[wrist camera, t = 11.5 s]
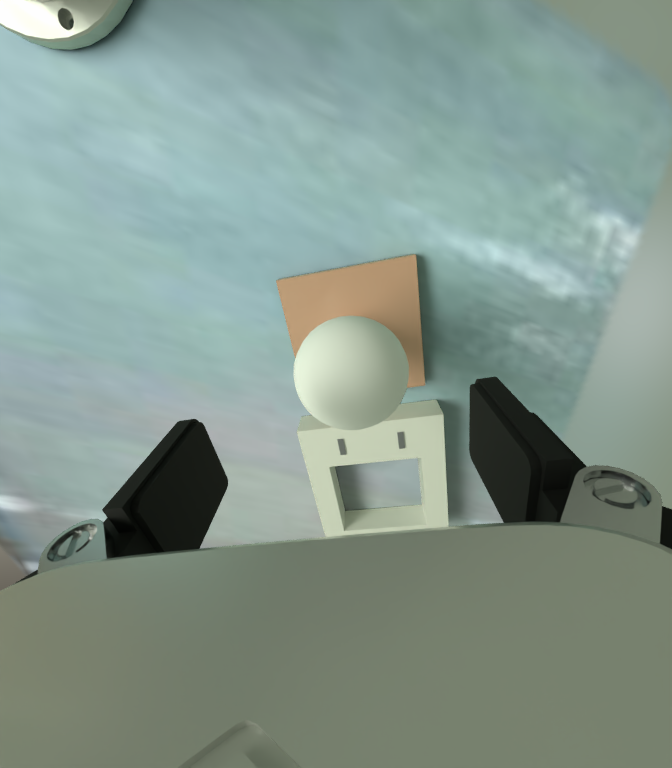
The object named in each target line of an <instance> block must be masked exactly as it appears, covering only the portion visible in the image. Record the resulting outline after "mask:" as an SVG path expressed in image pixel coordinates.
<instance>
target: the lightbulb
mask: <svg viewBox="0 0 672 768" xmlns="http://www.w3.org/2000/svg"><path fill="white" fill-rule="evenodd" d="M408 379H409V365H408V360H407V356H406V353H405V351H404V349H403V347H402V345H401V343H400V341H399V340H398V338H397V337H396V336H395V335H394V333H393V332H391V331H390V330H389V329H388V328H387V327H386V326H384V325H382V324H381V323H379V322H377V321H375V320H372V319H369V318H366V317H361V316H341V317H337V318H334V319H331V320H328V321H326V322H324V323H322V324H320V325H318V326H317V327H316V328H315V329H314V330H312V331H311V332H310V333H309V334H308V336H307V337H306V338H305V339H304V341H303V342H302V344H301V346H300V348H299V350H298V352H297V355H296V359H295V363H294V381H295V387H296V390H297V393H298V395H299V398H300V400H301V402H302V403H303V405H304V406H305V408H306V409H307V410H308V412H309V413H310V414H311V415H312V416H313V417H315V418H316V419H318V420H319V421H320V422H322V423H324V424H326V425H328V426H330V427H334V428H338V429H342V430H361V429H365V428H369V427H372V426H374V425H376V424H379V423H380V422H382V421H383V420H385V419H387V418H388V417H389V416H390V415H391V414H392V413H393V412H394V411H395V410H396V408H397V407H398V406H399V404H400V403H401V401H402V399H403V397H404V394H405V392H406V389H407V384H408Z"/></svg>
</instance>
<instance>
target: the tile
mask: <svg viewBox="0 0 672 768" xmlns="http://www.w3.org/2000/svg"><path fill="white" fill-rule="evenodd" d="M276 282H277V286H278V290H279V294H280V298H281V302H282V306H283V311H284V315H285V319H286V323H287V327H288V331H289V335H290V339H291V343H292V347H293V351H294V355H295V359H296V355H297V352H298V350H299V348H300V346H301V344H302V342H303V341H304V339H305V338H306V337H307V336H308V334H309V333H310V332H311V331H312V330H314V329H315V328H316V327H317V326H318V325H320V324H322V323H324V322H326V321H328V320H331V319H334V318H337V317H341V316H361V317H366V318H369V319H372V320H375V321H377V322H379V323H381V324H382V325H384V326H386V327H387V328H388V329H389V330H390V331H391V332H393V333H394V335H395V336H396V337H397V338H398V340H399V341H400V343H401V345H402V347H403V349H404V351H405V353H406V356H407V360H408V365H409V379H408V384H407V388H409V387H416V386H424V385H425V375H424V361H423V347H422V332H421V318H420V304H419V290H418V276H417V262H416V255H415V254H410V255H405V256H400V257H394V258H389V259H384V260H378V261H373V262H367V263H362V264H357V265H351V266H346V267H341V268H335V269H330V270H325V271H319V272H314V273H308V274H303V275H298V276H292V277H287V278H282V279H278V280H276Z"/></svg>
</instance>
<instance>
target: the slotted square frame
mask: <svg viewBox="0 0 672 768" xmlns="http://www.w3.org/2000/svg"><path fill="white" fill-rule="evenodd" d="M297 434H298V438H299V441H300V445H301V449H302V452H303V456H304V460H305V463H306V467H307V471H308V474H309V478H310V482H311V485H312V489H313V493H314V496H315V500H316V504H317V507H318V511H319V515H320V518H321V522H322V526H323V529H324V533H325V537H332V536H343V535H354V534H366V533H378V532H390V531H402V530H413V529H425V528H437V527H449V525H448V503H447V482H446V461H445V439H444V418H443V413H442V410H441V408H440V406H439V404H438V402H437V400H428V401H420V402H413V403H405V404H399V406H398V407H397V408H396V410H395V411H394V412H393V413H392V414H391V415H390V416H389V417H388V418H387V419H385V420H383V421H382V422H380V423H379V424H376V425H374V426H372V427H369V428H365V429H361V430H342V429H338V428H334V427H330V426H328V425H326V424H324V423H322V422H320V421H319V420H318V419H316V418H315V417H313V416H312V415H309V416H302V417H301V420H300V423H299V427H298V430H297ZM411 458H418V465H419V476H420V487H421V498H422V505H411V506H399V507H387V508H375V509H364V510H352V511H345V508H344V504H343V500H342V495H341V491H340V486H339V482H338V478H337V473H336V469H335V466H343V465H353V464H362V463H372V462H382V461H391V460H401V459H411Z"/></svg>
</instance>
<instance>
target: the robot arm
mask: <svg viewBox="0 0 672 768" xmlns="http://www.w3.org/2000/svg"><path fill="white" fill-rule="evenodd" d="M132 1H133V0H0V25H1V26H3V27H4V28H6V29H7V30H9V31H11V32H13V33H15V34H16V35H18V36H20V37H22V38H24V39H26V40H28V41H30V42H31V43H35V44H38V45H41V46H45V47H48V48H51V49H68V50H72V49H77V48H81V47H85V46H90V45H92V44H93V43H95V42H97V41H99V40H100V39H102V38H104V37H105V36H107V35H108V34H109V33H110V32H111V31H112V30H113V29H114V28H115V27H116V26H117V25H118V24H119V23H120V22H121V20H122V18H123V17H124V15H125V13H126V12H127V10H128V8H129V7H130V5H131V3H132ZM469 450H470V456H471V459H472V461H473V463H474V465H475V467H476V469H477V471H478V473H479V475H480V477H481V479H482V481H483V483H484V485H485V487H486V489H487V491H488V493H489V494H490V496H491V498H492V500H493V502H494V504H495V506H496V508H497V510H498V512H499V514H500V516H501V518H502V520H503V522H504V523H492V524H475V525H464V526H451V527H437V528H425V529H413V530H402V531H390V532H378V533H366V534H354V535H343V536H332V537H321V538H309V539H298V540H287V541H276V542H265V543H255V544H244V545H233V546H223V547H213V548H202V549H199V548H200V546H201V544H202V542H203V539H204V537H205V535H206V533H207V531H208V529H209V526H210V524H211V522H212V520H213V518H214V516H215V513H216V511H217V509H218V507H219V505H220V502H221V500H222V498H223V496H224V494H225V492H226V489H227V486H228V479H227V476H226V474H225V472H224V469H223V467H222V465H221V463H220V460H219V458H218V456H217V454H216V451H215V449H214V447H213V445H212V442H211V440H210V438H209V435H208V433H207V431H206V429H205V426H204V425H203V423H201V422H199V421H198V420H196V419H191V420H184V421H179V422H177V423H176V424H175V426H174V427H173V428H172V429H171V430H170V431H169V433H168V434H167V435H166V436H165V437H164V438H163V440H162V441H161V442H160V443H159V444H158V445H157V447H156V448H155V449H154V450H153V451H152V452H151V454H150V455H149V456H148V457H147V458H146V459H145V461H144V462H143V463H142V464H141V465H140V466H139V468H138V469H137V470H136V471H135V472H134V473H133V475H132V476H131V477H130V478H129V479H128V480H127V482H126V483H125V484H124V485H123V486H122V487H121V489H120V490H119V491H118V492H117V493H116V494H115V495H114V497H113V498H112V499H111V500H110V501H109V502H108V504H107V505H106V506H105V507H104V508H103V509H102V510H103V512H104V513H105V514H106V516H107V517H108V518H107V519H106V520H105V521H104V523H103V522H102V521H101V520H99V519H89V520H86V521H82V522H80V523H78V524H75V525H73V526H72V527H70V528H68V529H67V530H65V531H63V532H62V533H61V534H60V535H58V536H57V537H56V538H55V539H54V540H53V541H52V542H50V543H49V544H48V545H47V547H46V548H45V550H44V551H43V552H42V554H41V557H40V560H39V567H38V570H36V571H35V572H33V573H31V574H30V575H28V576H26V577H25V578H23V579H21V580H20V581H18V582H16V583H15V584H13V585H11V586H10V587H8V588H6V589H4V590H2V591H0V768H672V509H669V508H666V507H663V506H662V499H661V495H660V493H659V492H658V491H657V490H656V488H655V487H654V486H653V485H651V484H650V483H649V482H647V481H646V480H645V479H643V478H641V477H639V476H638V475H635V474H634V473H632V472H629V471H626V470H623V469H620V468H615V467H610V466H597V465H595V466H589V467H586V465H585V464H583V462H582V461H581V460H580V459H579V458H578V457H577V456H576V455H575V454H574V453H573V452H572V451H571V450H570V449H569V448H568V447H567V446H566V445H565V444H564V443H563V442H562V441H561V440H560V439H559V438H558V436H557V435H556V434H555V433H554V432H553V431H552V430H551V429H550V428H549V427H548V426H547V425H546V424H545V423H544V422H543V421H542V420H541V419H540V418H539V417H538V416H537V415H536V414H534V413H531V412H529V411H528V410H527V409H526V408H525V407H524V406H523V404H522V403H521V402H520V401H519V400H518V399H517V398H516V397H515V396H514V395H513V394H512V393H511V392H510V391H509V390H508V389H507V388H506V387H505V386H504V384H503V383H502V382H501V381H500V380H499V379H498V378H497V377H490V378H483V379H477V380H476V382H475V384H471V385H470V441H469Z"/></svg>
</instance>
